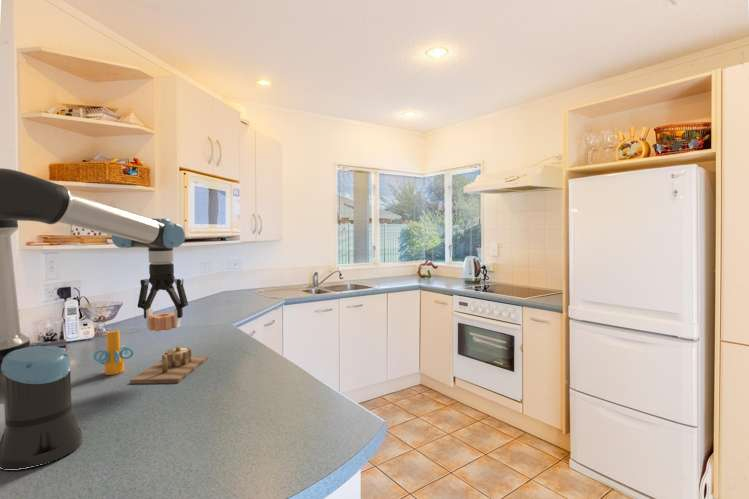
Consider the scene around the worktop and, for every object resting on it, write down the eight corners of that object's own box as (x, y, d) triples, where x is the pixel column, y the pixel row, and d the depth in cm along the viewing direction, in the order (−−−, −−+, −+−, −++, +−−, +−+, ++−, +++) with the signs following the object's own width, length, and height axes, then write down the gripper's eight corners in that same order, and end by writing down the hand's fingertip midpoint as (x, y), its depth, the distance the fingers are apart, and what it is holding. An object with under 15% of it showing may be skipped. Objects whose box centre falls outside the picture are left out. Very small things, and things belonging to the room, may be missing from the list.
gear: (170, 331, 134) (169, 317, 134) (143, 331, 134) (143, 318, 133) (182, 324, 143) (182, 312, 143) (157, 325, 143) (157, 312, 142)
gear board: (178, 382, 132) (178, 361, 132) (130, 383, 132) (129, 362, 131) (207, 359, 156) (206, 341, 156) (166, 360, 156) (165, 342, 155)
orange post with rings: (112, 379, 136) (110, 336, 135) (87, 377, 138) (85, 335, 137) (140, 367, 147) (138, 327, 147) (116, 365, 150) (115, 326, 149)
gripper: (197, 261, 141) (199, 324, 142) (136, 262, 141) (138, 325, 142) (187, 263, 134) (190, 329, 135) (123, 264, 133) (126, 330, 134)
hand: (163, 327), depth 138 cm, fingers closed on gear, 9 cm apart
